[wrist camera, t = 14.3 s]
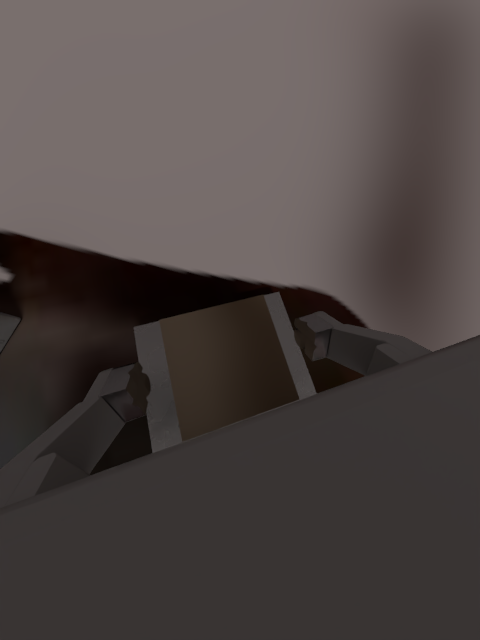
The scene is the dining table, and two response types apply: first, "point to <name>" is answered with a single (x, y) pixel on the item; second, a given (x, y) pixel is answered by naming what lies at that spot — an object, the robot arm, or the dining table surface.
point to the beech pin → (225, 365)
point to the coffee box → (7, 327)
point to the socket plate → (161, 394)
